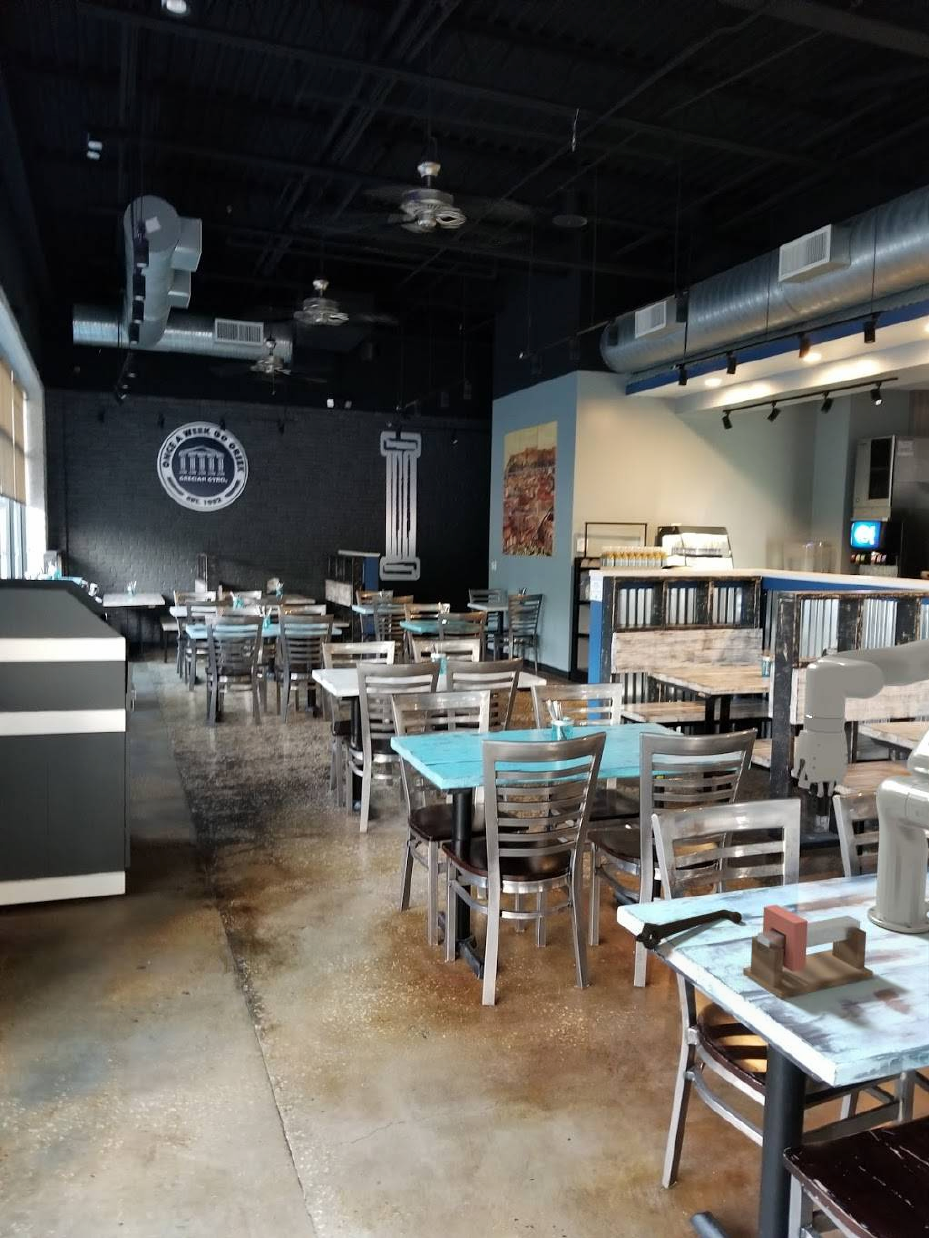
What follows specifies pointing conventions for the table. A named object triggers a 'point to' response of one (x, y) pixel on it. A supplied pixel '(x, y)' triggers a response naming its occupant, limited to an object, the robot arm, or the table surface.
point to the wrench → (680, 927)
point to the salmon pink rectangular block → (788, 935)
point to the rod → (814, 933)
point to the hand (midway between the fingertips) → (819, 814)
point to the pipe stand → (810, 967)
